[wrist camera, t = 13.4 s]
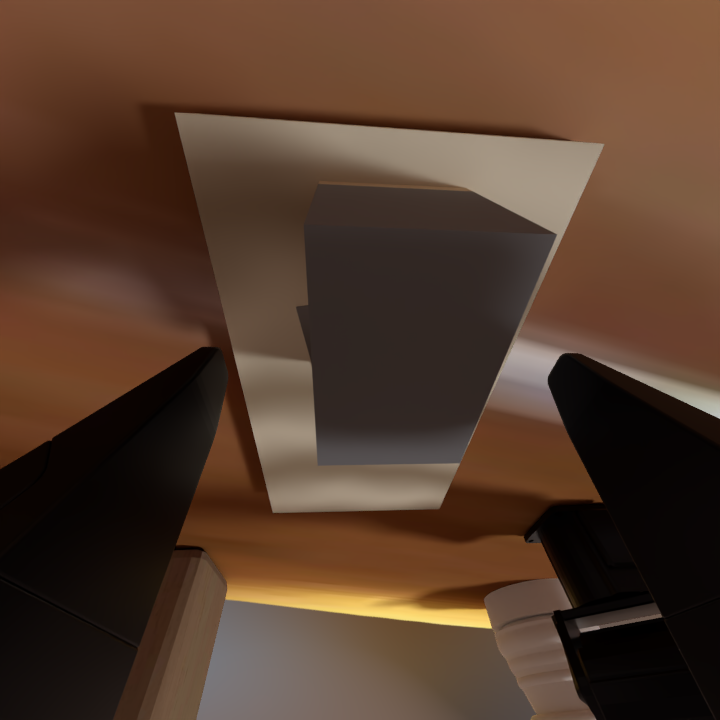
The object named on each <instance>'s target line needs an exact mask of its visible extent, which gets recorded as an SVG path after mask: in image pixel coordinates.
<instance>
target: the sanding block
mask: <svg viewBox="0 0 720 720" xmlns="http://www.w3.org/2000/svg"><path fill="white" fill-rule="evenodd" d="M556 236H557V234H555V233H553V232H551V231H549V230H547V229H545V228H544V227H542V226H540V225H538V224H536V223H534V222H532V221H530V220H528V219H526V218H524V217H522V216H520V215H518V214H516V213H514V212H512V211H510V210H508V209H506V208H504V207H502V206H500V205H499V204H497V203H495V202H493V201H491V200H489V199H487V198H485V197H483V196H481V195H479V194H477V193H475V192H473V191H471V190H469V189H467V188H456V187H436V186H416V185H396V184H376V183H356V182H336V181H319V183H318V186H317V189H316V191H315V194H314V197H313V200H312V202H311V205H310V208H309V211H308V214H307V216H306V219H305V222H304V240H305V258H306V275H307V292H308V309H309V326H310V343H311V360H312V377H313V394H314V412H315V429H316V446H317V463H318V466H328V465H389V464H450V463H460V462H461V460H462V457H463V455H464V453H465V450H466V448H467V446H468V443H469V441H470V439H471V436H472V434H473V431H474V429H475V427H476V424H477V422H478V420H479V417H480V415H481V413H482V410H483V408H484V406H485V403H486V401H487V399H488V396H489V394H490V392H491V389H492V387H493V384H494V382H495V380H496V377H497V375H498V373H499V370H500V368H501V366H502V363H503V361H504V359H505V356H506V354H507V352H508V349H509V347H510V345H511V342H512V340H513V337H514V335H515V333H516V330H517V328H518V326H519V323H520V321H521V319H522V316H523V314H524V312H525V309H526V307H527V305H528V302H529V300H530V298H531V295H532V293H533V290H534V288H535V286H536V283H537V281H538V279H539V276H540V274H541V272H542V269H543V267H544V265H545V262H546V260H547V258H548V255H549V253H550V251H551V248H552V246H553V243H554V241H555V239H556Z"/></svg>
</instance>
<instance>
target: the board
mask: <svg viewBox="0 0 720 720" xmlns="http://www.w3.org/2000/svg"><path fill="white" fill-rule="evenodd" d="M175 117H176V121H177V125H178V129H179V133H180V137H181V141H182V146H183V150H184V154H185V158H186V162H187V166H188V170H189V174H190V178H191V182H192V186H193V190H194V194H195V198H196V202H197V206H198V211H199V215H200V219H201V223H202V227H203V231H204V235H205V239H206V243H207V247H208V251H209V255H210V259H211V263H212V267H213V271H214V276H215V280H216V284H217V288H218V292H219V296H220V300H221V304H222V308H223V312H224V316H225V320H226V324H227V328H228V332H229V336H230V341H231V345H232V349H233V353H234V357H235V361H236V365H237V369H238V373H239V377H240V381H241V385H242V389H243V393H244V397H245V401H246V406H247V410H248V414H249V418H250V422H251V426H252V430H253V434H254V438H255V442H256V446H257V450H258V454H259V458H260V462H261V466H262V471H263V475H264V479H265V483H266V487H267V491H268V495H269V499H270V503H271V507H272V511H273V513H294V512H337V511H379V510H422V509H439V508H440V506H441V504H442V502H443V500H444V497H445V495H446V493H447V491H448V489H449V486H450V484H451V482H452V480H453V477H454V475H455V473H456V471H457V469H458V466H459V464H460V463H450V464H389V465H328V466H318V463H317V446H316V429H315V412H314V394H313V377H312V360H311V343H310V326H309V309H308V292H307V275H306V258H305V240H304V222H305V219H306V216H307V214H308V211H309V208H310V205H311V202H312V200H313V197H314V194H315V191H316V189H317V186H318V183H319V181H336V182H356V183H376V184H396V185H416V186H436V187H456V188H467V189H469V190H471V191H473V192H475V193H477V194H479V195H481V196H483V197H485V198H487V199H489V200H491V201H493V202H495V203H497V204H499V205H500V206H502V207H504V208H506V209H508V210H510V211H512V212H514V213H516V214H518V215H520V216H522V217H524V218H526V219H528V220H530V221H532V222H534V223H536V224H538V225H540V226H542V227H544V228H545V229H547V230H549V231H551V232H553V233H555V234H557V236H556V239H555V241H554V243H553V246H552V248H551V251H550V253H549V255H548V258H547V260H546V262H545V265H544V267H543V269H542V272H541V274H540V276H539V279H538V281H537V283H536V286H535V288H534V290H533V293H532V295H531V298H530V300H529V302H528V305H527V307H526V309H525V312H524V314H523V316H522V319H521V321H520V323H519V326H518V328H517V330H516V333H515V335H514V337H513V340H512V342H511V345H510V347H509V349H508V352H507V354H506V356H505V359H504V361H503V363H502V366H501V368H500V370H499V373H498V375H497V377H496V380H495V382H494V384H493V387H492V389H491V392H490V394H489V396H488V399H487V401H486V403H485V406H484V408H483V410H482V413H483V411H484V409H485V407H486V405H487V402H488V400H489V398H490V396H491V394H492V391H493V389H494V387H495V385H496V383H497V380H498V378H499V376H500V374H501V371H502V369H503V367H504V365H505V363H506V360H507V358H508V356H509V354H510V352H511V349H512V347H513V345H514V343H515V341H516V338H517V336H518V334H519V332H520V330H521V327H522V325H523V323H524V321H525V318H526V316H527V314H528V312H529V310H530V307H531V305H532V303H533V301H534V299H535V296H536V294H537V292H538V290H539V288H540V285H541V283H542V281H543V279H544V277H545V274H546V272H547V270H548V268H549V265H550V263H551V261H552V259H553V257H554V254H555V252H556V250H557V248H558V246H559V243H560V241H561V239H562V237H563V235H564V232H565V230H566V228H567V226H568V224H569V221H570V219H571V217H572V215H573V212H574V210H575V208H576V206H577V204H578V201H579V199H580V197H581V195H582V193H583V190H584V188H585V186H586V184H587V182H588V179H589V177H590V175H591V173H592V171H593V168H594V166H595V164H596V162H597V159H598V157H599V155H600V153H601V151H602V148H603V146H604V144H599V143H589V142H579V141H568V140H554V139H540V138H527V137H513V136H500V135H486V134H472V133H459V132H445V131H431V130H418V129H404V128H391V127H377V126H363V125H350V124H336V123H323V122H309V121H295V120H282V119H268V118H255V117H241V116H227V115H214V114H200V113H175ZM482 413H481V415H480V417H479V420H480V418H481V416H482ZM479 420H478V422H479ZM478 422H477V424H478ZM477 424H476V427H477ZM476 427H475V429H476ZM475 429H474V431H475ZM474 431H473V433H474ZM472 436H473V434H472ZM472 436H471V438H472ZM470 440H471V439H470ZM469 442H470V441H469ZM468 444H469V443H468ZM467 447H468V446H467ZM466 449H467V448H466ZM465 451H466V450H465ZM462 458H463V457H462Z"/></svg>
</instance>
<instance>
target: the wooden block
mask: <svg viewBox="0 0 720 720" xmlns="http://www.w3.org/2000/svg"><path fill="white" fill-rule="evenodd" d="M226 593H227V583H226V580H225V579H224V578H223V576H222V575H221V573H220V572H219V570H218V569H217V568H216V566H215V565H214V563H213V562H212V560H211V559H210V558H209V556H208V555H207V553H206V552H204V551H202V550H200V549H193V550H174V551H173V554H172V557H171V560H170V562H169V565H168V568H167V571H166V574H165V576H164V579H163V582H162V585H161V587H160V590H159V593H158V596H157V599H156V601H155V604H154V607H153V610H152V612H151V615H150V618H149V621H148V624H147V626H146V629H145V632H144V635H143V637H142V640H141V643H140V645H139V647H137V648H138V652H137V655H136V658H135V660H134V663H133V666H132V669H131V671H130V674H129V677H128V680H127V683H126V685H125V688H124V691H123V694H122V696H121V699H120V702H119V705H118V708H117V710H116V713H115V716H114V719H113V720H196V717H197V713H198V709H199V705H200V701H201V697H202V693H203V688H204V684H205V680H206V676H207V671H208V668H209V663H210V659H211V655H212V651H213V647H214V643H215V638H216V634H217V630H218V626H219V622H220V617H221V613H222V609H223V605H224V601H225V597H226Z"/></svg>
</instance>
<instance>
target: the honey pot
mask: <svg viewBox="0 0 720 720" xmlns="http://www.w3.org/2000/svg"><path fill="white" fill-rule="evenodd" d="M484 603H485V606H486V609H487V613H488V616H489V619H490V623H491V626H492V629H493V631H494V632H496V634H495V639H496V641H497V646H498V649H499V651H500V653H501V654H502V655H503V657H504V658H505V659H506V660H507V662H508V664H509V668H510V670H511V672H512V673H513V674H514V675H515V677H516V679H517V684H518V686H519V687H520V688H521V689H522V690H523V692H524V693H525V695H526V697H527V699H528V700H529V702H530V704H531V706H532V707H533V709H534V711H535V712H536V714H537V715H534V716H532V717H531V720H596V718H595V716H594V715H593V713H592V712H591V710H590V708H589V707H588V706H587V705H586V704H585V703H584V702H582V701H581V700H580V699H579V697H578V695H577V692H576V689H575V686H574V683H573V679H572V676H571V672H570V669H569V665H568V662H567V659H566V655H565V652H564V648H563V645H562V643H561V640H560V637H559V635H558V632H557V630H556V628H555V625H554V623H553V620H552V618H551V616H553V615H554V613H553V611H555V610H561V611H562V610H567V609H572V606H571V604H570V602H569V600H568V598H567V596H566V594H565V592H564V589H563V587H562V585H561V583H560V581H559V579H552V578H551V579H538V580H532V581H525V582H521V583H516V584H512V585H509V586H506V587H503V588H500V589H497V590H495V591H493V592H491V593H490V594H488V595H487V596H486V597H485V598H484ZM597 629H600V628H599V626H593V627H588V628H582V629H579V630H580V632H586V631H592V630H597Z"/></svg>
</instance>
